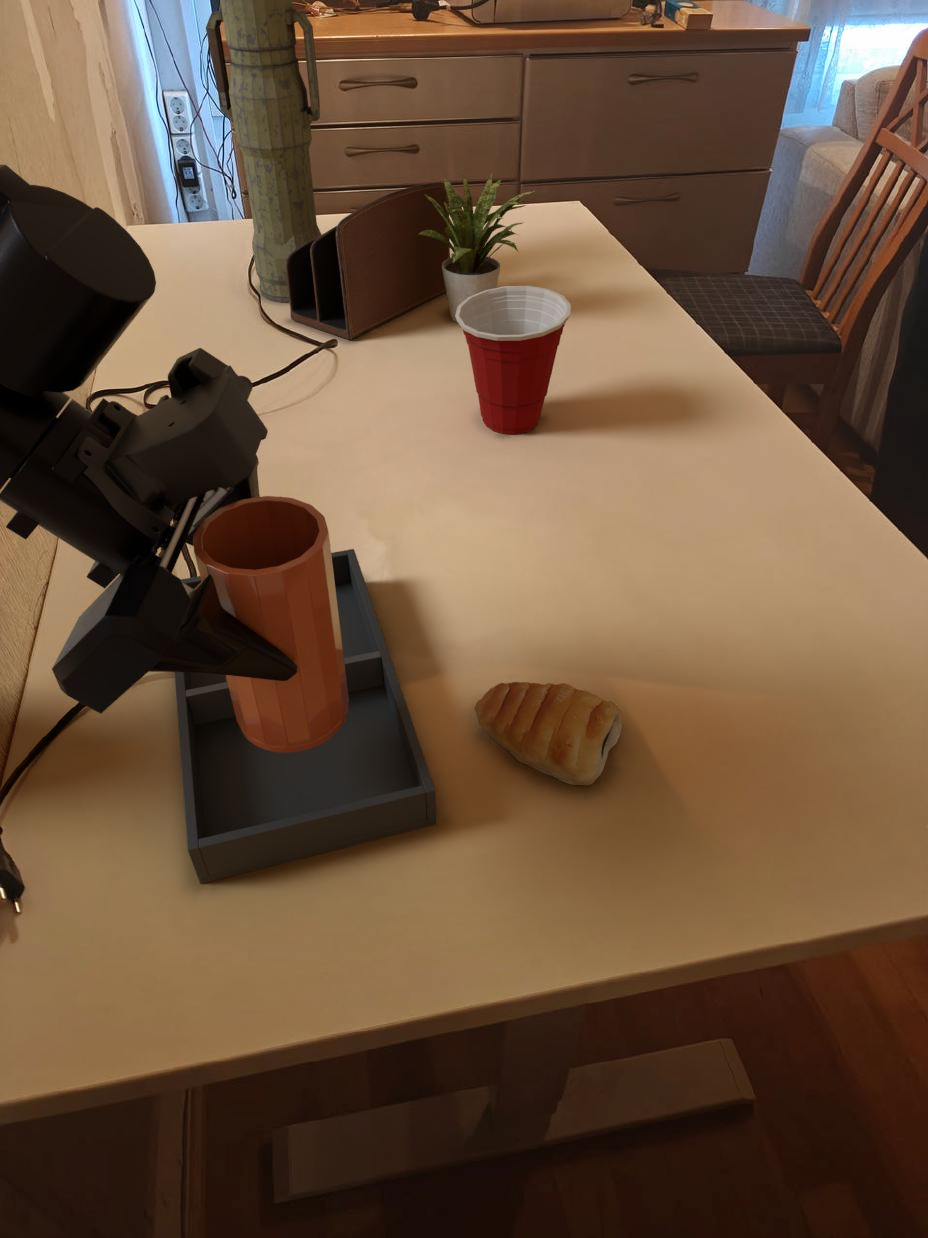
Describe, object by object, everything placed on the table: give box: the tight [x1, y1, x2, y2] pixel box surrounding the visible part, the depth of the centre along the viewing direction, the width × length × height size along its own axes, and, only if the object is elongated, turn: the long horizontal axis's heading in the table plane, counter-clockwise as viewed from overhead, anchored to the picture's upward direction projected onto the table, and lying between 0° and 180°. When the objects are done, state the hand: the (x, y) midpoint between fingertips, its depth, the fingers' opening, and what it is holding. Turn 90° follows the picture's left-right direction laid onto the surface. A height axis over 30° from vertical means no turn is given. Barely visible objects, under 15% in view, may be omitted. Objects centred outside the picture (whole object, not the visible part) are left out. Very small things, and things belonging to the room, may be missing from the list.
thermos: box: [205, 0, 322, 304], centre depth 103 cm, size 9×12×35 cm
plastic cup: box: [455, 285, 572, 435], centre depth 85 cm, size 11×11×12 cm
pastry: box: [474, 681, 623, 786], centre depth 56 cm, size 9×7×4 cm
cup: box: [193, 495, 349, 753], centre depth 47 cm, size 6×6×13 cm
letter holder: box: [286, 181, 451, 341], centre depth 106 cm, size 10×20×14 cm, turn 143°
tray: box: [174, 548, 438, 884], centre depth 58 cm, size 14×24×3 cm, turn 17°
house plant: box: [419, 171, 539, 323], centre depth 102 cm, size 14×14×16 cm
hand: (303, 629), depth 47 cm, fingers closed on cup, 6 cm apart
